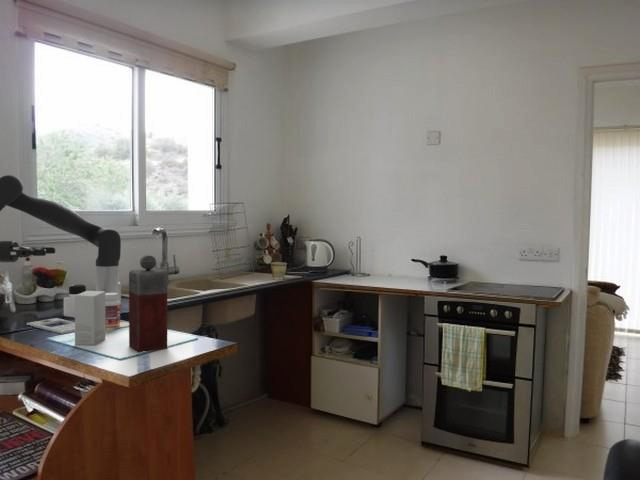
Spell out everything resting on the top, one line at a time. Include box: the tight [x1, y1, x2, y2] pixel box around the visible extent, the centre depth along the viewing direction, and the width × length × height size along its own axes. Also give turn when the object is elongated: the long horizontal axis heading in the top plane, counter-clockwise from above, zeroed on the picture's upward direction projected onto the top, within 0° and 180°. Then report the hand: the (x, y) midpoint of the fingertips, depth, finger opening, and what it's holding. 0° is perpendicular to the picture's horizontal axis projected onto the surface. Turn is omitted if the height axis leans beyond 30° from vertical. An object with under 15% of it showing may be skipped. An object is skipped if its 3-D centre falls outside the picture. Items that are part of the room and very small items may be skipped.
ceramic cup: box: [270, 261, 288, 280], centre depth 323 cm, size 13×10×10 cm
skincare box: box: [74, 290, 106, 346], centre depth 162 cm, size 8×7×16 cm
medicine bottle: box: [63, 284, 87, 319], centre depth 202 cm, size 7×7×12 cm
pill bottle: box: [105, 293, 121, 327], centre depth 184 cm, size 6×6×11 cm
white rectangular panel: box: [26, 317, 75, 335], centre depth 183 cm, size 11×22×1 cm, turn 57°
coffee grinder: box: [128, 254, 168, 353], centre depth 158 cm, size 9×11×28 cm
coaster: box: [105, 321, 129, 332], centre depth 185 cm, size 10×10×1 cm
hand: (50, 251), depth 183 cm, fingers open, 8 cm apart
